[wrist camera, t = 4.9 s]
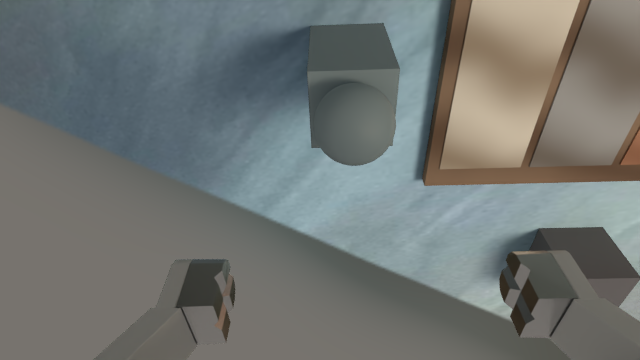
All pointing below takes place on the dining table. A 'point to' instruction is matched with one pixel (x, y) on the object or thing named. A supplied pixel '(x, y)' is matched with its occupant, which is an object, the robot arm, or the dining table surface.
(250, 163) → the dining table surface
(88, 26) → the dining table surface
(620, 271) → the die
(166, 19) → the dining table surface
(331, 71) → the pawn
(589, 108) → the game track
